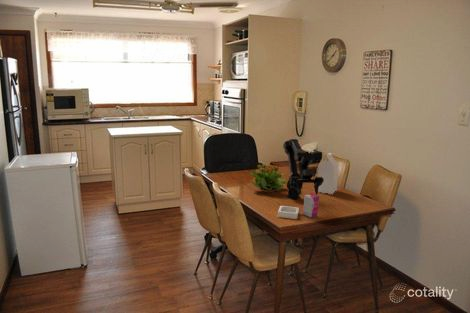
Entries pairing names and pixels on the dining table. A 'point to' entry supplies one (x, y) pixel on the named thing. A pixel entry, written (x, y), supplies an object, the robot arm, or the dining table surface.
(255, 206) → the dining table surface
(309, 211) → the supplement box
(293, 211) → the collar
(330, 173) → the milk
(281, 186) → the potted flower
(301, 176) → the robot arm
